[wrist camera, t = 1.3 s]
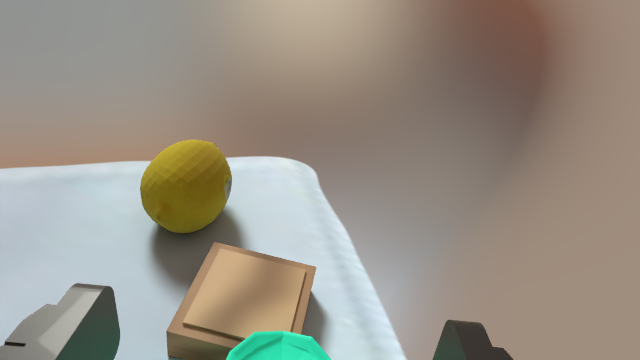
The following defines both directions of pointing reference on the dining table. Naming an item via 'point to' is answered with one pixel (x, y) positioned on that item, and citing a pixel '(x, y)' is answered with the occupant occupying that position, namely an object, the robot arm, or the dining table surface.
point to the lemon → (186, 186)
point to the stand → (238, 302)
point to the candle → (277, 347)
